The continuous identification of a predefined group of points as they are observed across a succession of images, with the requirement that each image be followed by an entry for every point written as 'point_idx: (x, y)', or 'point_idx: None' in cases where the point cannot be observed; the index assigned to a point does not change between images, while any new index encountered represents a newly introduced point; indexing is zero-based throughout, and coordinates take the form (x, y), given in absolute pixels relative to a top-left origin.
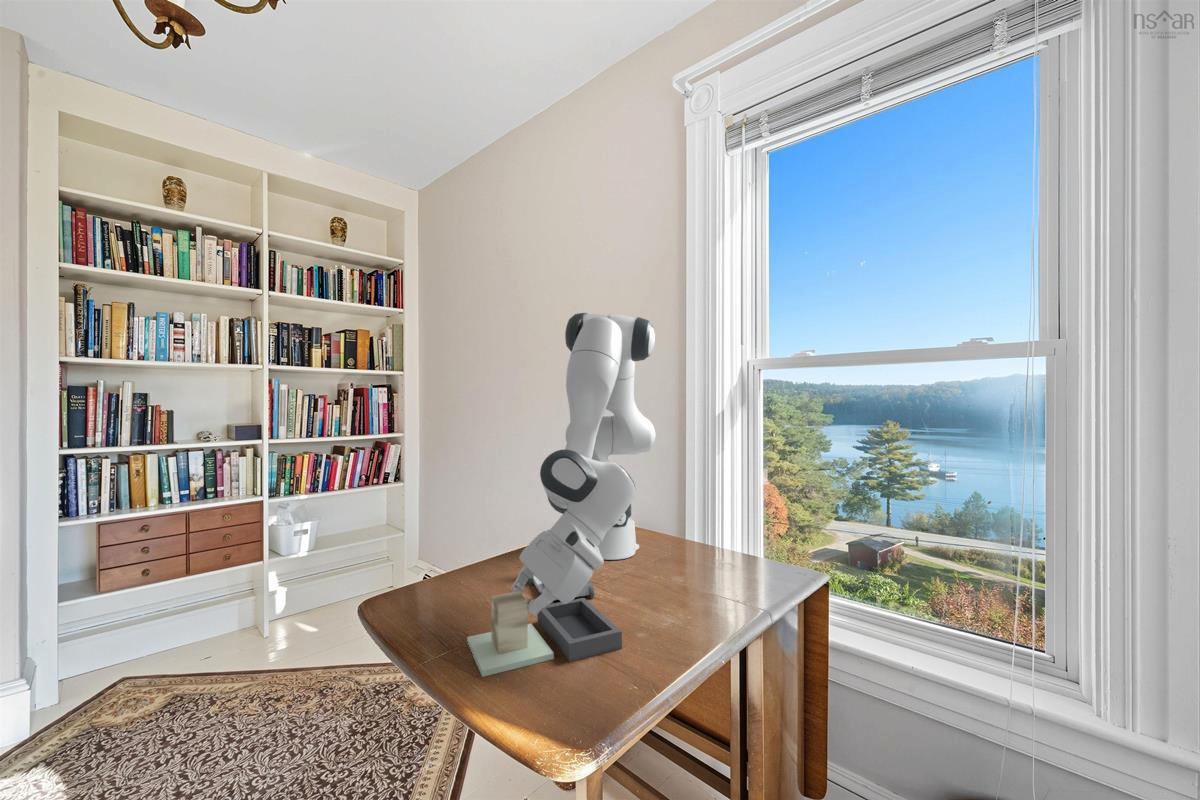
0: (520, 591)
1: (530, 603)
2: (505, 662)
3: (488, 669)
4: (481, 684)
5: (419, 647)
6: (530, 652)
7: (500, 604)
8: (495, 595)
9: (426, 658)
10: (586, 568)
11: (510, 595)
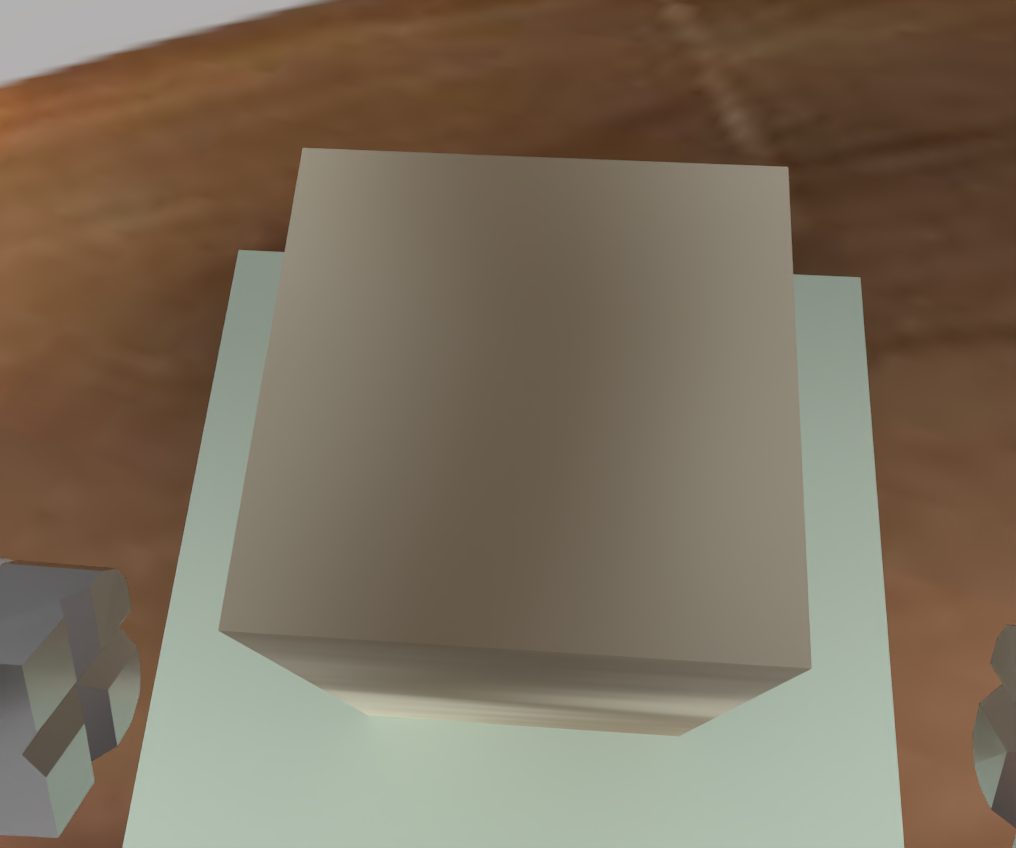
0: (1002, 793)
1: (13, 607)
2: (243, 439)
3: (230, 294)
4: (170, 250)
5: (912, 5)
6: (266, 707)
7: (373, 189)
8: (775, 219)
9: (721, 21)
10: None
11: (662, 441)
